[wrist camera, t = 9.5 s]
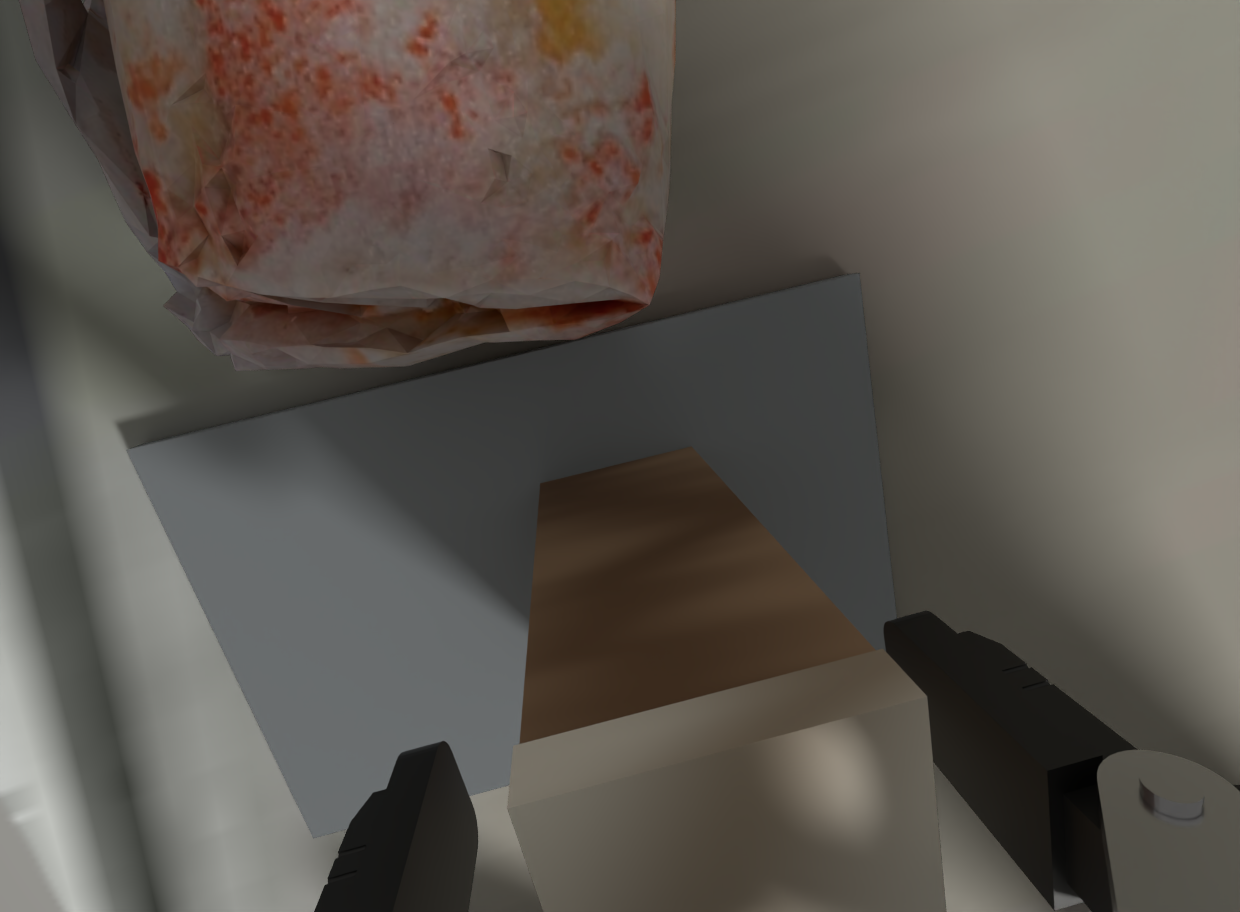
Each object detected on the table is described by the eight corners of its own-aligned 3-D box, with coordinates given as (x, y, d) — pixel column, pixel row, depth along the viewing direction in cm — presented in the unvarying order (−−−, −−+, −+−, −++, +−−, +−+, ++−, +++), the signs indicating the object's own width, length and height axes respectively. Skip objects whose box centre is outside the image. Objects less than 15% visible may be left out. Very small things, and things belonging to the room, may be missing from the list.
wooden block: (693, 444, 15) (926, 696, 6) (731, 644, 17) (964, 1102, 7) (537, 481, 15) (507, 808, 6) (592, 680, 17) (643, 1198, 7)
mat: (892, 666, 19) (903, 678, 18) (321, 821, 18) (313, 838, 17) (847, 274, 15) (859, 273, 15) (143, 443, 14) (126, 450, 14)
